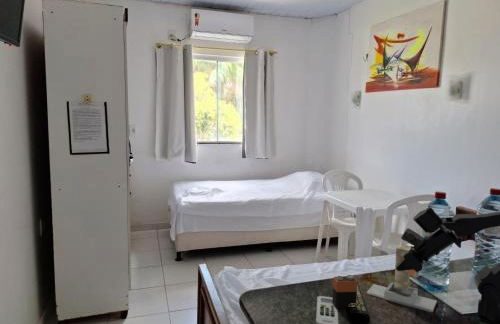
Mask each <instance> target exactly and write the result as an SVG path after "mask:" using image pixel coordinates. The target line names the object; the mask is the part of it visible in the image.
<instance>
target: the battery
mask: <svg viewBox="0 0 500 324" xmlns="http://www.w3.org/2000/svg"><path fill="white" fill-rule="evenodd" d="M357 290H358V281H357V280H356V279H355V277H354V275H351V274H347V275H346V276H343V275H342V276H341V275H338V276H334V277H333V280H332V299H331V300H332V304H333V306H334V308H336V309H348V308H347V306H348V304H350V303H356V304H357V294H358V292H357Z"/></svg>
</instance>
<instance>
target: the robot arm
mask: <svg viewBox="0 0 500 324" xmlns="http://www.w3.org/2000/svg"><path fill="white" fill-rule="evenodd" d="M412 220H413V221H414V222H415V224H417V225H418V226H419V227H420V228H421V229H422V230H423V231H424V232H425V233H428V234H430V235H426V236H425V237H424V236H422V235H420V233H417V231H416V232H415V231H414V230H412V229H410V228H406V229H405V230H404V232H403V234H402V235H401V240H403V241H405V242H407V244H411V245H414V246H411V250H410V251H408V252H406V253H405V255H404V256H403V257H404V258H405V260H404V261H403V262H402V263H401V264H400V265H399V266H398V267H397V268H396V269H397V270H398V271H404V270H415V271H416V272H419V271H421V270H422V269H424V268H425V263H427V262H428V261H430V259H432V258H433V257H434V256H436V257H437V256H438V255H439V254H440V253H441V252H443V251H444V250H445V249H447V248H449V247H450V246H452V245H453V244H455V245H456V246H457V247H458V248H459V249H460V248H462V242H463V237H468V236H471V235H474V234H477V233H480V232H481V231H485V230H486V229H490V228H497V227H500V211H495V212H489V213H488V212H487V213H483V214H476V213H458V214H457V213H456V214H454V215H453V216H452V217H451V216H450V217H448V216H447V217H446V216H445V217H440V215H438V214H437V212H435V210H434V208H432V206H429V207H427V208H424V209H422V210H420V211H419V212H417V214H416V215H415V216H414V217H412ZM473 282H474V284H475V287H476V288H477V291H478V293H479V294H480V295H481V296H480V299H478V304H477V312H476V313H477V316H478V320H480V321H483V322H487V323H491V324H500V264H499V265H498V266H495V267H491V268H490V266H489V265H487V264H486V265H484V267H482V269H481V270H479V271H476V275H475V276H474V281H473Z"/></svg>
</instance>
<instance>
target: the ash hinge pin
mask: <svg viewBox="0 0 500 324" xmlns="http://www.w3.org/2000/svg"><path fill="white" fill-rule="evenodd" d="M395 249H396V252H395V269H394V283H395V284H394V288H398V289H402V290H406V291H407V290H408V288H409V287H410V282H411V280H410V279H411V278H410V277H411V275H410V270H404V271H398V270H397V269H396V268H397V267H398V266H399V265H400V264H401V263H402V262H403V261H404V260H405V258H404V257H403V256H404V255H405V253H406V252H408V251H410V250H411V247H407V246H405V245H400V244H399V245H398V246H397V247H396V248H395Z"/></svg>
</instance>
